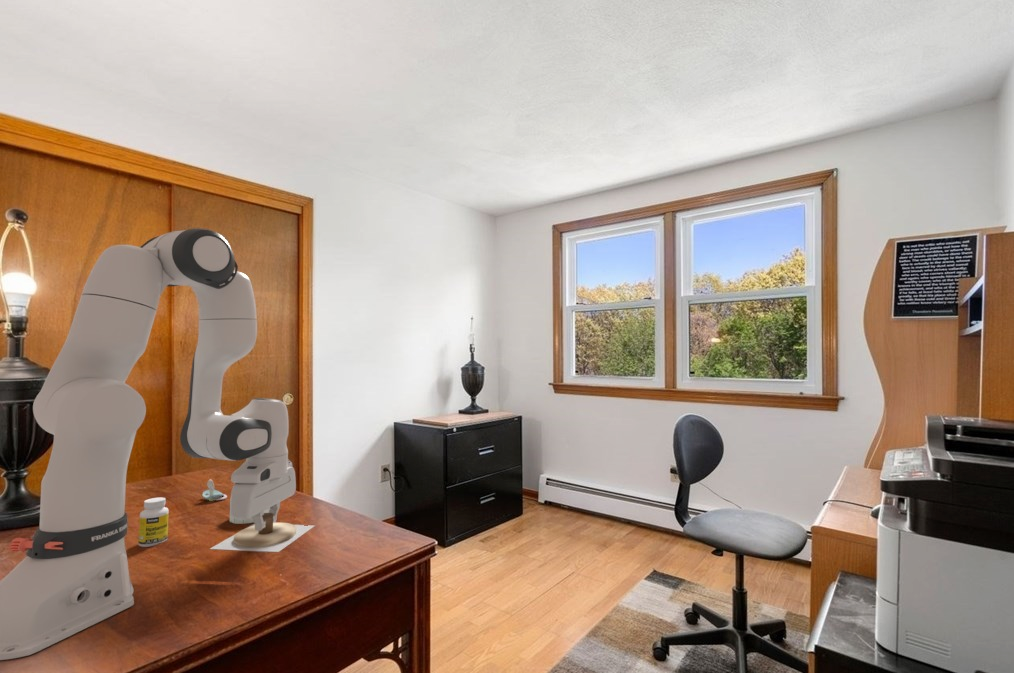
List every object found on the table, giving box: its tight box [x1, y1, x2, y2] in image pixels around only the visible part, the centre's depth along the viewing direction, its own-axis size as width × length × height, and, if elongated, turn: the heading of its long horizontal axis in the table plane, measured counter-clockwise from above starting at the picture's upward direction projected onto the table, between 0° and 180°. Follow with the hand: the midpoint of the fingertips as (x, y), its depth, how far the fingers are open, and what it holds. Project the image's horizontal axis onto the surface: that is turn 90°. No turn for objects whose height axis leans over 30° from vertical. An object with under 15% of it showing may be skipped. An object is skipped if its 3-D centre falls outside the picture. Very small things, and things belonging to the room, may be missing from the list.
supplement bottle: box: [137, 496, 170, 548], centre depth 109 cm, size 5×5×10 cm
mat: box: [209, 523, 315, 553], centre depth 111 cm, size 16×16×1 cm
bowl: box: [229, 498, 270, 525], centre depth 124 cm, size 9×9×6 cm
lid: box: [233, 513, 296, 548], centre depth 111 cm, size 13×13×5 cm
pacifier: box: [202, 478, 228, 502], centre depth 142 cm, size 7×6×6 cm
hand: (265, 526), depth 111 cm, fingers closed on lid, 3 cm apart
